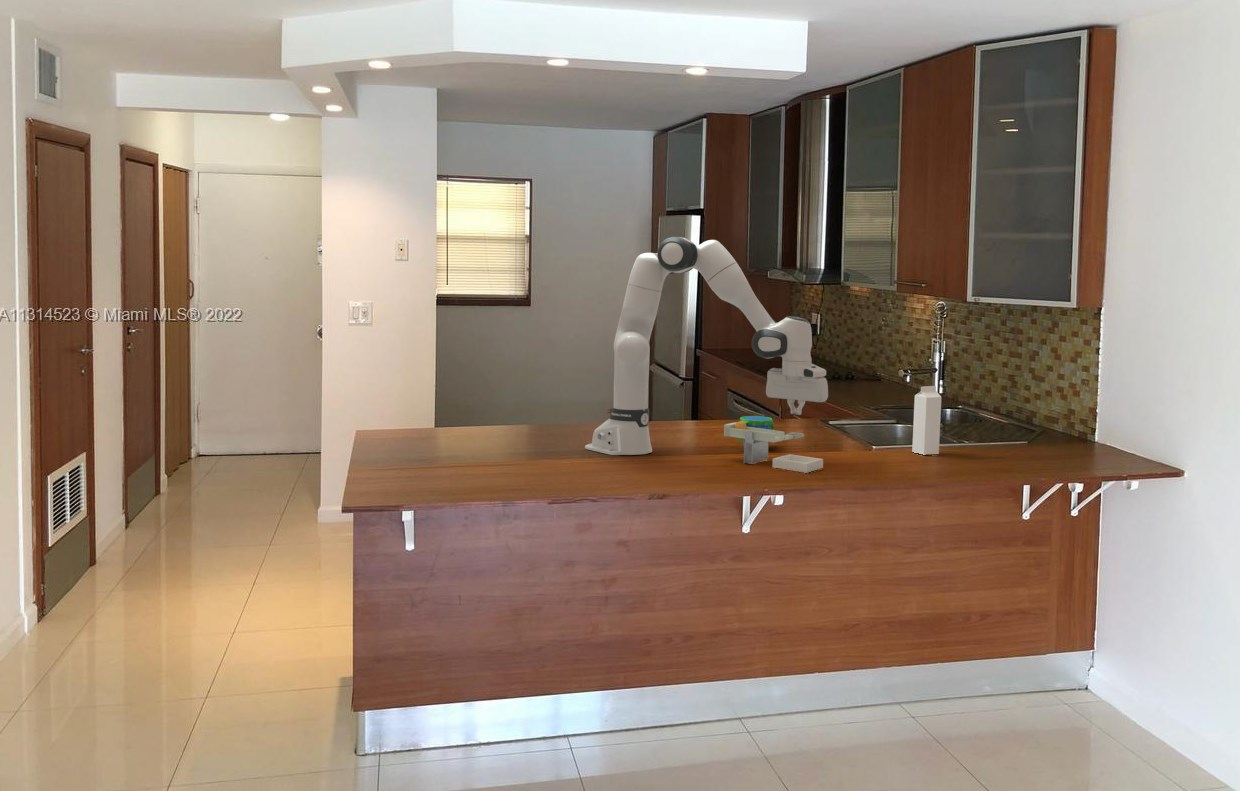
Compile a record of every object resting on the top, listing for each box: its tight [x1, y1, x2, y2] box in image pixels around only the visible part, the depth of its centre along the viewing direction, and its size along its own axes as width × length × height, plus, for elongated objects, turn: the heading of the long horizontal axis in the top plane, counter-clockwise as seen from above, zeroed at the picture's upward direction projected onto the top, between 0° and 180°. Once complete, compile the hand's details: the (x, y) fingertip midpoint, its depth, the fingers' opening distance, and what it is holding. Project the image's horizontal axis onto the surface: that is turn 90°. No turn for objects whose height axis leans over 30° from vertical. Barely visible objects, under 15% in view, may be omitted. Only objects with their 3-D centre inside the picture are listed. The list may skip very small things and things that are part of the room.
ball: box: [735, 420, 746, 430], centre depth 340 cm, size 4×4×4 cm
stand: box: [743, 432, 769, 464], centre depth 337 cm, size 3×9×10 cm, turn 140°
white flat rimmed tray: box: [772, 453, 824, 474], centre depth 328 cm, size 12×10×3 cm
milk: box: [911, 385, 942, 455], centre depth 352 cm, size 6×6×22 cm
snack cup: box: [736, 415, 775, 445], centre depth 360 cm, size 16×10×10 cm
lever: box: [723, 422, 805, 444], centre depth 340 cm, size 20×16×4 cm
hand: (796, 414), depth 338 cm, fingers closed
